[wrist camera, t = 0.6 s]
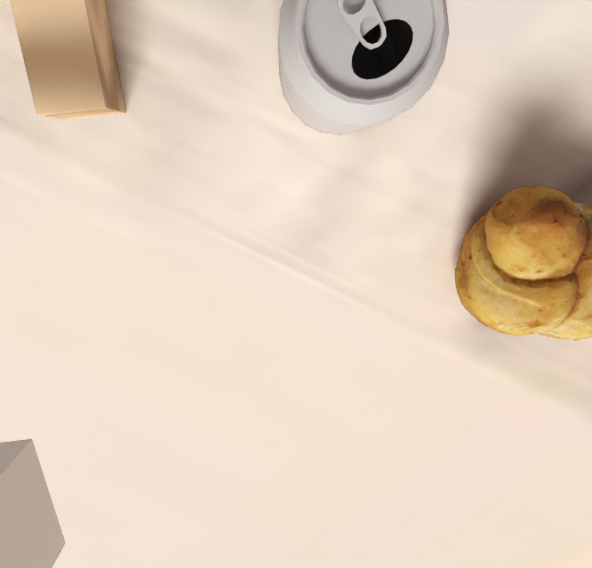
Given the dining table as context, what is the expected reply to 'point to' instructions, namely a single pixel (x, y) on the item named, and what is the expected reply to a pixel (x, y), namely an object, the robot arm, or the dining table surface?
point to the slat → (69, 57)
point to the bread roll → (530, 265)
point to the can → (358, 59)
